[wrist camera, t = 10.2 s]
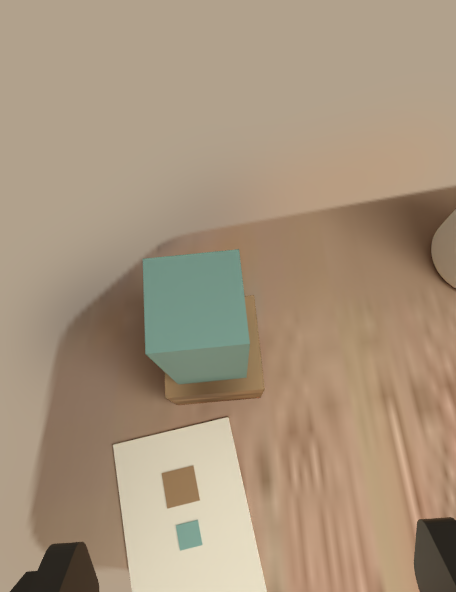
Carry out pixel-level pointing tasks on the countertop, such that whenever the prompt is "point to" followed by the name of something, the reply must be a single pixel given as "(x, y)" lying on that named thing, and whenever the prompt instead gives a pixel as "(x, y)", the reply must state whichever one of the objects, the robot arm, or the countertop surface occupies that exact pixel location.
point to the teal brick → (196, 316)
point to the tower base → (230, 387)
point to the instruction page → (187, 512)
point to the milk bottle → (445, 249)
